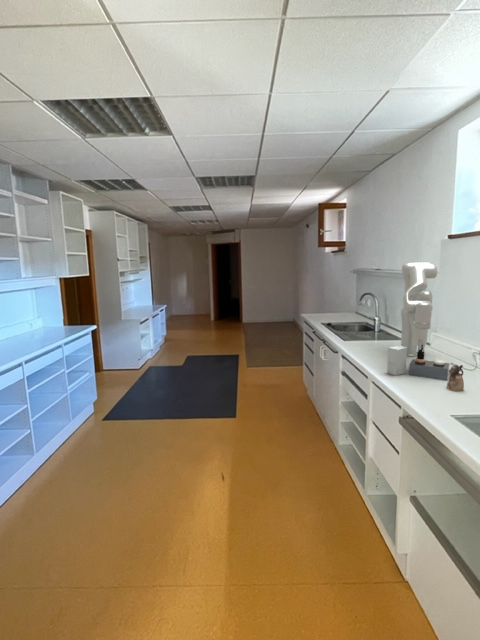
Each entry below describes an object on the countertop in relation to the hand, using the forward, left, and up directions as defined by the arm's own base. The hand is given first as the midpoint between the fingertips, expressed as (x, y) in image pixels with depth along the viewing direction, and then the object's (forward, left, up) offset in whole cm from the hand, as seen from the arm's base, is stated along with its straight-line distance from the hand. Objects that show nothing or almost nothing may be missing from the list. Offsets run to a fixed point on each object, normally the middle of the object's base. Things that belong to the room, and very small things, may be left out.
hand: (420, 358), depth 196 cm
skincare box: (+6, -11, -8) cm, 15 cm away
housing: (0, +4, -8) cm, 9 cm away
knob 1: (0, 0, -8) cm, 8 cm away
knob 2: (0, +9, -8) cm, 12 cm away
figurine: (+18, +17, -8) cm, 26 cm away
